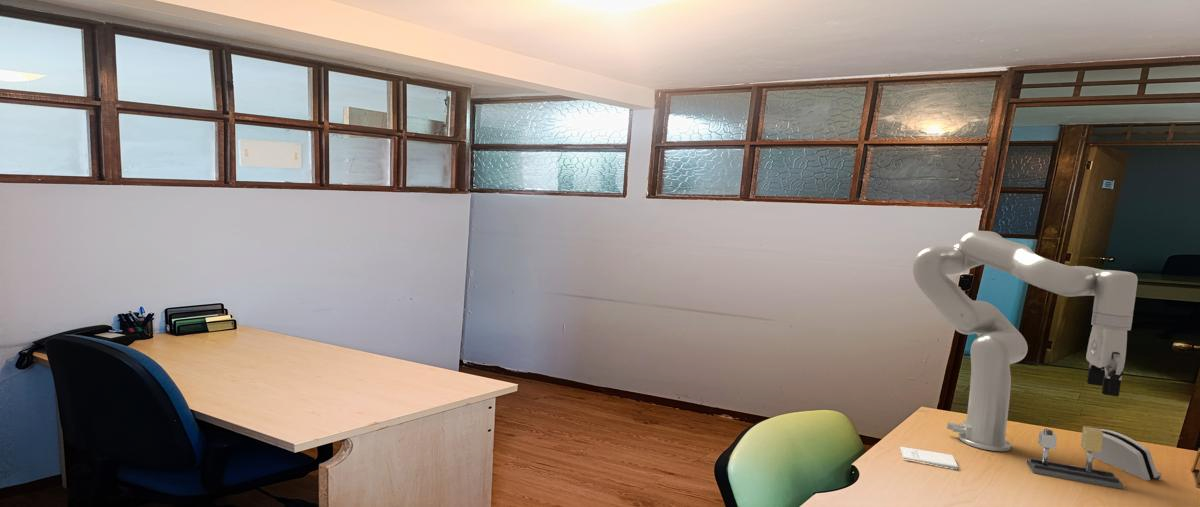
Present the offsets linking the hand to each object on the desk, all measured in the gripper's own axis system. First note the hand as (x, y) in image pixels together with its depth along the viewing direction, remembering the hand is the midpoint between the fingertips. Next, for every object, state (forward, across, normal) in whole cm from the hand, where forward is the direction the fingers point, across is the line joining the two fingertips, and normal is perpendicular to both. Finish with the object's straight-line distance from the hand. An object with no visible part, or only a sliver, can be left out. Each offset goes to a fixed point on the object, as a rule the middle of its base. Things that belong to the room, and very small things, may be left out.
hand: (1102, 389), depth 152 cm
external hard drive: (+24, +8, -37) cm, 45 cm away
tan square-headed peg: (+21, +1, -1) cm, 21 cm away
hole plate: (+22, +1, -4) cm, 23 cm away
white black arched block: (+23, -13, +10) cm, 28 cm away
